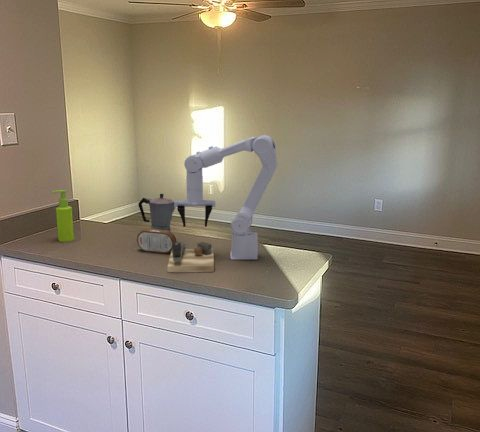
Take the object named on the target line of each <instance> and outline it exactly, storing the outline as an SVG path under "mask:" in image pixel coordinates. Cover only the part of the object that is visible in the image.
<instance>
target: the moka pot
mask: <svg viewBox="0 0 480 432" xmlns="http://www.w3.org/2000/svg"><path fill="white" fill-rule="evenodd" d="M164 196H165V195H164V193H160V194H159V197H155V198H146V197H143V198H142V199H141V200H139V202H138V208H139V211H140V214H141V217H142V220H143V222H146V223H150V222H151V223H150V224H151V226H150V229H158V230H167V231H170V232H171V233H172V231H171V221H172V218H173V213H174V212H175V209H176V207H174V201H175V200H173V199H171V198H167V197H166V198H165V197H164ZM144 203H145V204H147V205H149V212H150V213H149V214H150V219H147V218H146V215H145V211H144V208H143V204H144ZM150 220H151V221H150Z"/></svg>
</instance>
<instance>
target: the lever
mask: <svg viewBox="0 0 480 432" xmlns="http://www.w3.org/2000/svg"><path fill="white" fill-rule="evenodd" d="M186 245H187V244H186V243H184V241H177V242H174V243H172V256H173V261H181V258H182V256H183V251H185V250H186V249H187V248H186Z"/></svg>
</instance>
